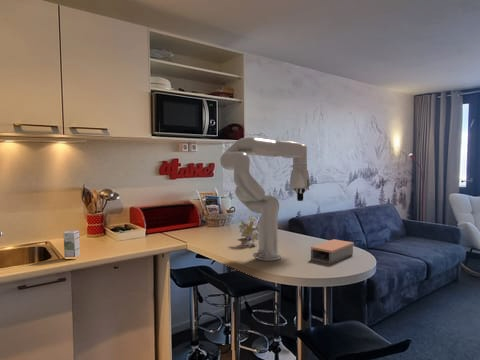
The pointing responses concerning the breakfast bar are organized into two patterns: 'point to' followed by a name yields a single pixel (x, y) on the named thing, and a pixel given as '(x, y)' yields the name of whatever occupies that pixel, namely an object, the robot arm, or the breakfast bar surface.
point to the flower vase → (249, 231)
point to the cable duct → (332, 255)
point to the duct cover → (332, 245)
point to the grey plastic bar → (325, 256)
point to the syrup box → (71, 243)
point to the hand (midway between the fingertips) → (300, 200)
